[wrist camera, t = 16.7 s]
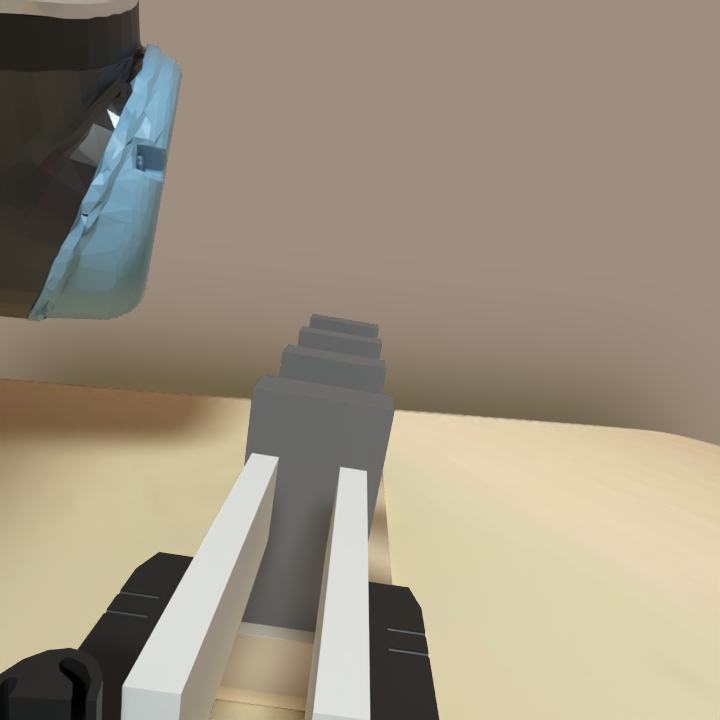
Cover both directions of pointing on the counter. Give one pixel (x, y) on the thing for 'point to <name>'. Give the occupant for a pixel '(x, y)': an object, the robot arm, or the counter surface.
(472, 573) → the counter surface
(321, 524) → the domino
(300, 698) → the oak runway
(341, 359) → the domino
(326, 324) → the domino
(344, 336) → the domino
